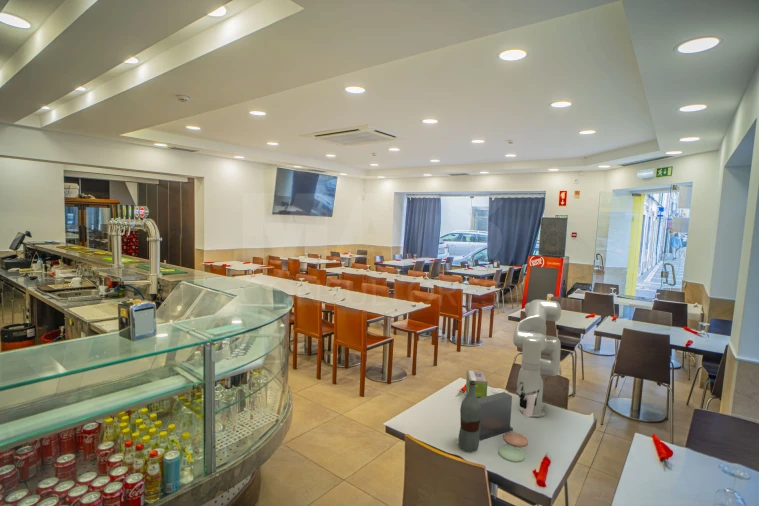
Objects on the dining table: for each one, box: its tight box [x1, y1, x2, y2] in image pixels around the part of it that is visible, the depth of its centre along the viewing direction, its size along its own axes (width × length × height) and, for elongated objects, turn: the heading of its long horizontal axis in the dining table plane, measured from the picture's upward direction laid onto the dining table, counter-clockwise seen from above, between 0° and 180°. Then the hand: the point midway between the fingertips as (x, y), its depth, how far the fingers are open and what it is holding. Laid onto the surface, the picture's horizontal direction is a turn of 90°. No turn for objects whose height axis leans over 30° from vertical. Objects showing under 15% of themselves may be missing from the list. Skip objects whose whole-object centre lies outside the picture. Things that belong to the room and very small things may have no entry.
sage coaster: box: [498, 445, 526, 463], centre depth 174 cm, size 11×11×1 cm
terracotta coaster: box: [502, 431, 529, 448], centre depth 186 cm, size 11×11×1 cm
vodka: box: [458, 381, 481, 453], centre depth 177 cm, size 9×9×30 cm
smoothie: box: [522, 390, 537, 418], centre depth 173 cm, size 6×6×14 cm
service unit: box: [477, 391, 514, 442], centre depth 192 cm, size 22×7×17 cm, turn 120°
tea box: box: [465, 370, 488, 398], centre depth 227 cm, size 15×10×15 cm, turn 174°
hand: (527, 405), depth 173 cm, fingers closed on smoothie, 5 cm apart
